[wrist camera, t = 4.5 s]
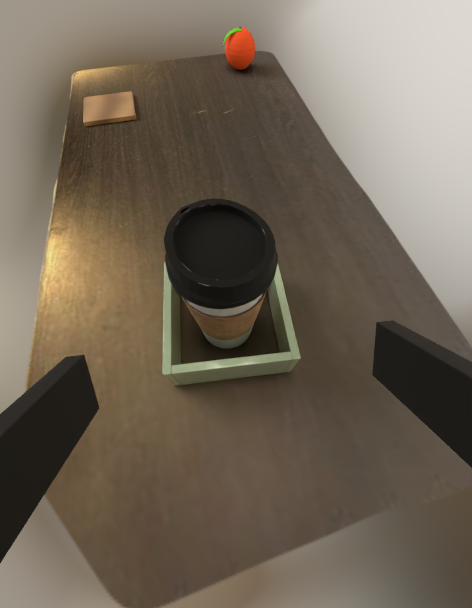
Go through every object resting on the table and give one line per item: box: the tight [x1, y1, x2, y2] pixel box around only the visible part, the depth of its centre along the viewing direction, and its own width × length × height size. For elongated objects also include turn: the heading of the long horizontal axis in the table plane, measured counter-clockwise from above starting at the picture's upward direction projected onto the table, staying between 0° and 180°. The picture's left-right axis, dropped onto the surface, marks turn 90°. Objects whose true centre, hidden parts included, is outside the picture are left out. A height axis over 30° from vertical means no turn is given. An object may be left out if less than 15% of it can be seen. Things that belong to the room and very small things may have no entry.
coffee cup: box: [164, 199, 278, 349], centre depth 24 cm, size 8×8×15 cm
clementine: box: [223, 27, 255, 70], centre depth 59 cm, size 8×7×7 cm
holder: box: [162, 262, 301, 386], centre depth 28 cm, size 13×13×5 cm
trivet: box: [83, 91, 136, 126], centre depth 53 cm, size 10×10×1 cm
